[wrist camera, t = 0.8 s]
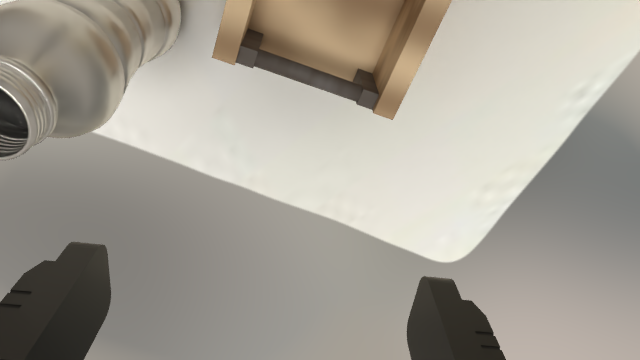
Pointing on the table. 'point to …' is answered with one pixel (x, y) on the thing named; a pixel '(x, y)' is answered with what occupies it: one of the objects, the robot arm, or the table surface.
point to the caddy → (334, 44)
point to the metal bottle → (73, 63)
